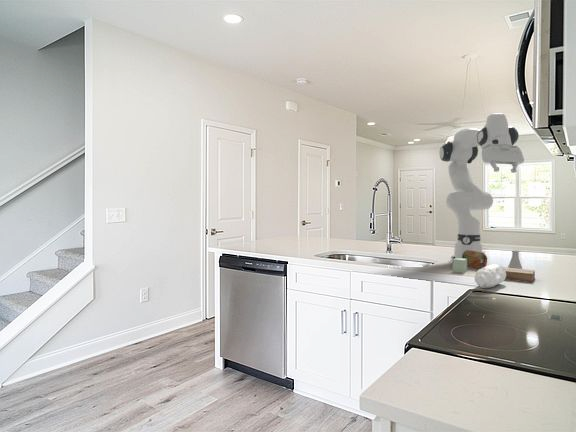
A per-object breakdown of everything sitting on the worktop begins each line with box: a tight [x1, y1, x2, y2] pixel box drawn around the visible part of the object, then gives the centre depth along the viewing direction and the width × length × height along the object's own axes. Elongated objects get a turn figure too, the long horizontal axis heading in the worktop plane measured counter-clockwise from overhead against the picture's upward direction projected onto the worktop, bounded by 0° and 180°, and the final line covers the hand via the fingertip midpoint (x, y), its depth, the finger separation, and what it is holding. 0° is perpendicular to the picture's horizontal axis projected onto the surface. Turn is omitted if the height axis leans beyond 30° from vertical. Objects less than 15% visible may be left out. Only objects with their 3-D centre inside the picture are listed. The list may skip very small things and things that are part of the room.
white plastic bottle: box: [474, 263, 506, 289], centre depth 149 cm, size 8×19×8 cm, turn 135°
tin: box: [462, 250, 488, 270], centre depth 192 cm, size 15×3×8 cm, turn 14°
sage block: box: [452, 258, 468, 274], centre depth 181 cm, size 5×5×6 cm
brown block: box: [502, 266, 536, 283], centre depth 164 cm, size 10×12×4 cm
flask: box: [507, 249, 523, 269], centre depth 180 cm, size 7×7×10 cm
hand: (505, 171), depth 177 cm, fingers open, 8 cm apart
